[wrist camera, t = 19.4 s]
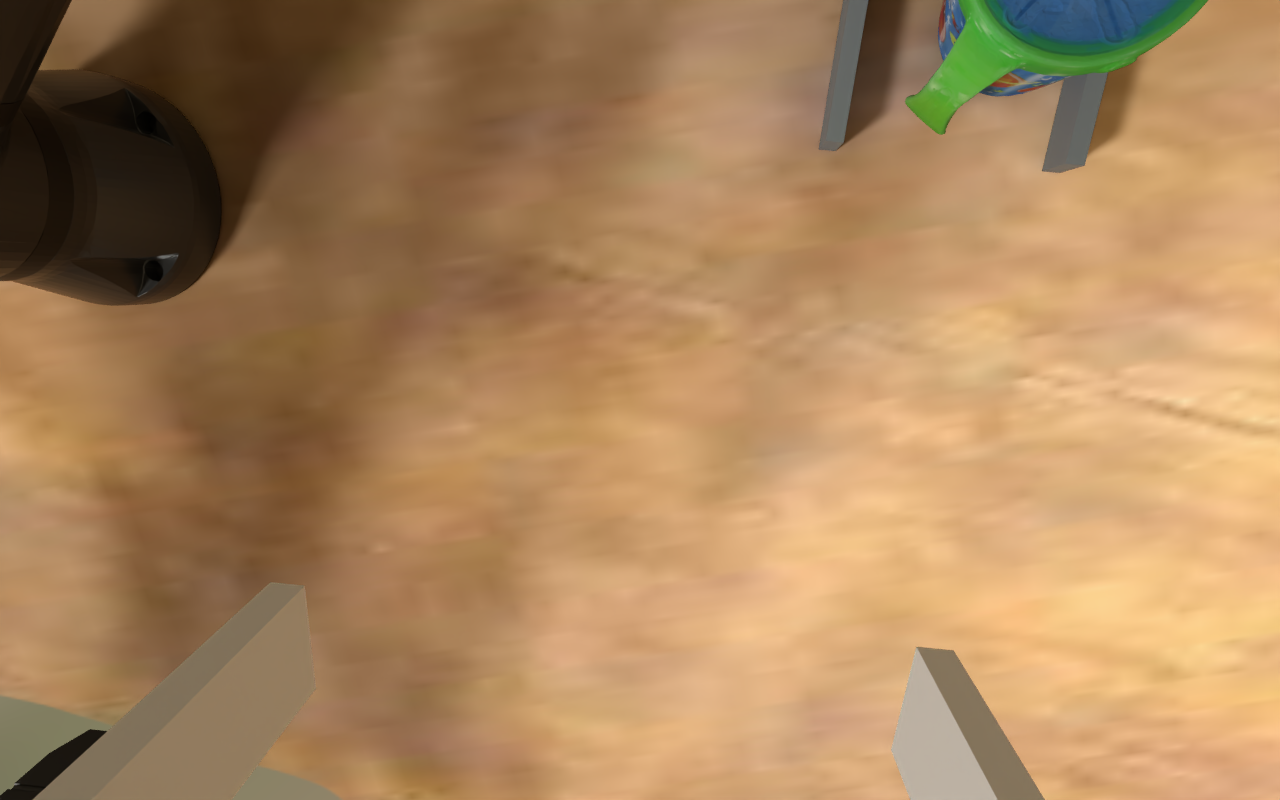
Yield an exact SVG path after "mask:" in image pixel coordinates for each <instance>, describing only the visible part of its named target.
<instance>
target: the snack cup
mask: <svg viewBox="0 0 1280 800" xmlns="http://www.w3.org/2000/svg"><path fill="white" fill-rule="evenodd" d="M1207 1H1208V0H944V1H943V5H942V9H941V13H940V18H939V27H938V40H939V47H940V51H941V55H942V58H943V60H944V61H943V63H942V65H941V66H940V68H939V69H938V70H937V71H936V73H935V74H934V75H933V76H932V77H931V79H930V80H929V82H928V83H927V84H926V85H925V86H924V87H923V89H922V90H921V91H920V92H919V93H918V94H916V95H911V96H909V97H907V98H906V101H905V103H906V105H907V106H908V107H909V108H910V109H911V110H912V111H913V112H914V113H915V114H916V115H917V116H918V117H919V118H920V119H921V120H922V121H923V122H924V123H925V124H926V125H928V126H929V127H930V128H931V129H932V130H934V131H935V132H936V133H938V134H941V135H942V134H944V133H945V132H946V131H945V130H946V127H947V125H948V123H949V121H950V119H951V118H952V116H953V115H954V113H955V112H956V110H957V109H958V108H959V107H960V106H962V105H963V104H964V103H965V102H967V101H969V100H970V99H971V98H972V97H974V96H975V95H976V94H977V93H982V94H986V95H990V96H1011V95H1017V94H1023V93H1026V92H1029V91H1032V90H1035V89H1038V88H1041V87H1044V86H1047V85H1049V84H1052V83H1055V82H1057V81H1059V80H1062V79H1065V78H1068V77H1071V76H1077V75H1084V74H1090V73H1106V72H1111V71H1114V70H1116V69H1119V68H1122V67H1125V66H1127V65H1129V64H1131V63H1133V62H1135V61H1136V59H1137V57H1138V56H1139V55H1141V54H1143V53H1145V52H1147V51H1148V50H1150V49H1152V48H1153V47H1155V46H1156V45H1158V44H1159V43H1161V42H1162V41H1164V40H1165V39H1167V38H1168V37H1170V36H1171V35H1172V34H1173V33H1175V32H1176V31H1177V30H1178V29H1180V28H1181V27H1182V26H1183V25H1185V24H1186V23H1187V22H1188V21H1189V20H1190V19H1191V18H1192V17H1193V16H1194V15H1195V14H1196V13H1197V12H1198V11H1199V10H1200V9H1201V8H1202V7H1203V6H1204V5H1205V3H1206V2H1207Z"/></svg>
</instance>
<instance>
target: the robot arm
mask: <svg viewBox="0 0 1280 800" xmlns="http://www.w3.org/2000/svg"><path fill="white" fill-rule="evenodd" d="M71 1H72V0H0V281H13V282H17V283H20V284H24V285H28V286H31V287H35V288H39V289H42V290H46V291H50V292H53V293H57V294H61V295H64V296H68V297H71V298H75V299H79V300H82V301H86V302H90V303H95V304H102V305H139V304H151V303H157V302H160V301H164V300H167V299H169V298H171V297H174V296H176V295H177V294H179V293H181V292H182V291H184V290H185V289H187V288H188V287H189V286H190V285H191V284H192V283H193V282H194V281H195V280H196V279H197V278H198V277H199V276H200V275H201V273H202V272H203V270H204V269H205V268H206V266H207V264H208V262H209V261H210V258H211V256H212V254H213V252H214V249H215V246H216V243H217V239H218V235H219V229H220V221H221V199H220V191H219V185H218V181H217V177H216V173H215V170H214V167H213V164H212V161H211V159H210V156H209V154H208V152H207V150H206V148H205V146H204V144H203V142H202V140H201V139H200V137H199V136H198V134H197V132H196V131H195V130H194V128H193V127H192V125H191V124H190V123H189V122H188V121H187V119H186V118H185V117H184V116H183V115H182V114H181V113H180V112H179V111H178V110H177V109H176V108H175V107H174V106H173V105H171V104H170V103H169V102H168V101H166V100H165V99H164V98H162V97H161V96H159V95H158V94H156V93H154V92H153V91H151V90H149V89H147V88H145V87H142V86H140V85H137V84H134V83H131V82H128V81H125V80H122V79H119V78H116V77H113V76H110V75H106V74H103V73H98V72H93V71H86V70H38V69H39V67H40V65H41V63H42V61H43V59H44V57H45V55H46V52H47V50H48V48H49V46H50V44H51V42H52V40H53V38H54V36H55V34H56V32H57V30H58V28H59V26H60V24H61V21H62V19H63V17H64V15H65V13H66V11H67V9H68V7H69V5H70V3H71ZM315 689H316V684H315V675H314V666H313V657H312V648H311V639H310V629H309V620H308V611H307V602H306V593H305V586H302V585H292V584H282V583H272V582H270V583H269V584H268V585H267V586H266V587H265V588H264V589H263V590H262V591H260V592H259V593H258V594H257V595H256V596H255V597H254V598H253V599H252V600H251V601H250V602H248V603H247V604H246V605H245V606H244V607H243V608H242V609H241V610H240V611H239V612H237V613H236V614H235V615H234V616H233V617H232V618H231V619H230V620H229V621H228V622H227V623H225V624H224V625H223V626H222V627H221V628H220V629H219V630H218V631H217V632H216V633H214V634H213V635H212V636H211V637H210V638H209V639H208V640H207V641H206V642H205V643H204V644H202V645H201V646H200V647H199V648H198V649H197V650H196V651H195V652H194V653H193V654H191V655H190V656H189V657H188V658H187V659H186V660H185V661H184V662H183V663H182V664H181V665H179V666H178V667H177V668H176V669H175V670H174V671H173V672H172V673H171V674H170V675H168V676H167V677H166V678H165V679H164V680H163V681H162V682H161V683H160V684H159V685H158V686H156V687H155V688H154V689H153V690H152V691H151V692H150V693H149V694H148V695H147V696H146V697H144V698H143V699H142V700H141V701H140V702H139V703H138V704H137V705H136V706H135V707H133V708H132V709H131V710H130V711H129V712H128V713H127V714H126V715H125V716H124V717H123V718H121V719H120V720H119V721H118V722H117V723H116V724H115V725H114V726H113V727H112V728H111V729H109V731H100V730H91V729H90V730H88V731H86V732H85V733H83V734H82V735H80V736H78V737H76V738H75V739H73V740H71V741H69V742H68V743H66V744H64V745H63V746H61V747H59V748H57V749H56V750H54V751H52V752H51V753H49V754H48V755H47V756H46V757H44V758H43V759H42V760H41V761H40V762H39V763H37V764H36V765H35V766H34V767H33V768H32V769H31V770H30V771H28V772H27V773H26V774H25V775H24V776H23V777H21V778H20V779H19V780H18V781H17V782H15V785H14V787H13V788H12V789H11V790H10V789H7V790H6V791H5V792H4V793H3V794H2V795H0V800H232V798H233V797H234V796H235V794H236V793H237V792H238V790H239V789H240V788H241V786H242V785H243V784H244V783H245V781H246V780H247V779H248V777H249V776H250V775H251V773H252V772H253V771H254V769H255V768H256V767H257V765H258V764H259V763H260V762H261V760H262V759H263V758H264V756H265V755H266V754H267V752H268V751H269V750H270V748H271V747H272V746H273V744H274V743H275V742H276V740H277V739H278V738H279V737H280V735H281V734H282V733H283V731H284V730H285V729H286V727H287V726H288V725H289V723H290V722H291V721H292V719H293V718H294V717H295V715H296V714H297V713H298V711H299V710H300V709H301V708H302V706H303V705H304V704H305V702H306V701H307V700H308V698H309V697H310V696H311V694H312V693H313V692H314V690H315ZM891 751H892V753H893V756H894V758H895V761H896V764H897V766H898V769H899V771H900V774H901V777H902V779H903V782H904V785H905V787H906V790H907V792H908V795H909V798H910V800H1045V799H1044V798H1043V796H1042V794H1041V793H1040V791H1039V790H1038V788H1037V786H1036V785H1035V783H1034V781H1033V780H1032V778H1031V776H1030V775H1029V773H1028V771H1027V770H1026V768H1025V767H1024V765H1023V763H1022V762H1021V760H1020V758H1019V757H1018V755H1017V753H1016V752H1015V750H1014V749H1013V747H1012V745H1011V744H1010V742H1009V740H1008V739H1007V737H1006V735H1005V734H1004V732H1003V731H1002V729H1001V727H1000V726H999V724H998V722H997V721H996V719H995V717H994V716H993V714H992V713H991V711H990V709H989V708H988V706H987V704H986V703H985V701H984V699H983V698H982V696H981V695H980V693H979V691H978V690H977V688H976V686H975V685H974V683H973V681H972V680H971V678H970V676H969V675H968V673H967V672H966V670H965V668H964V667H963V665H962V663H961V662H960V660H959V658H958V657H957V655H956V654H955V652H954V651H953V650H943V649H933V648H923V647H916V650H915V655H914V659H913V663H912V667H911V671H910V675H909V679H908V683H907V687H906V691H905V696H904V700H903V704H902V708H901V712H900V716H899V720H898V724H897V728H896V732H895V736H894V741H893V745H892V749H891Z"/></svg>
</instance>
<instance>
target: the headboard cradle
mask: <svg viewBox="0 0 1280 800" xmlns="http://www.w3.org/2000/svg"><path fill="white" fill-rule="evenodd" d="M867 5H868V0H843V6H842V12H841V18H840V24H839V30H838V36H837V42H836V48H835V54H834V60H833V66H832V72H831V78H830V84H829V90H828V96H827V102H826V108H825V114H824V120H823V126H822V132H821V138H820V145H819V149H820V150H831V151H836V150H837V149H838V148H839V147H840V146H841V145H842V144H843V143H844V138H845V132H846V126H847V120H848V115H849V109H850V103H851V97H852V92H853V86H854V80H855V74H856V68H857V63H858V57H859V51H860V45H861V40H862V34H863V28H864V22H865V17H866V11H867ZM1107 75H1108V72H1106V73H1090V74H1084V75H1077V76H1071V77H1068V78H1065V79H1064V82H1063V86H1062V90H1061V94H1060V98H1059V103H1058V107H1057V111H1056V115H1055V119H1054V123H1053V128H1052V132H1051V136H1050V140H1049V144H1048V148H1047V153H1046V157H1045V161H1044V165H1043V169H1042V171H1046V172H1056V173H1061V172H1064V171H1068V170H1071V169H1075V168H1078V167H1081V166H1085V162H1086V158H1087V154H1088V150H1089V146H1090V142H1091V138H1092V134H1093V130H1094V126H1095V122H1096V118H1097V114H1098V110H1099V106H1100V102H1101V98H1102V94H1103V90H1104V87H1105V83H1106V79H1107Z"/></svg>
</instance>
